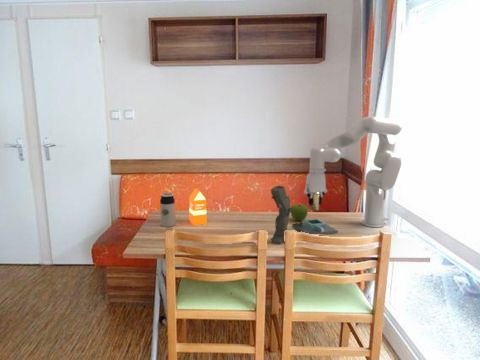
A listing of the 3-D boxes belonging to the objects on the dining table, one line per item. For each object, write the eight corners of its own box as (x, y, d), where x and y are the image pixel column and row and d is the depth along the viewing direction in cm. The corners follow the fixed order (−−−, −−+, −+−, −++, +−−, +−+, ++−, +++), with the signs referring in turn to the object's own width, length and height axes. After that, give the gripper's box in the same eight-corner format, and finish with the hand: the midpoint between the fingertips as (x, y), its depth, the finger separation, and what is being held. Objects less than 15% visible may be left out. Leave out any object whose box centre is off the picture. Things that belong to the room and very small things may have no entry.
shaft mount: (319, 223, 209) (320, 215, 209) (337, 233, 193) (338, 225, 192) (291, 226, 204) (292, 218, 203) (307, 236, 187) (307, 228, 186)
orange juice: (193, 225, 204) (193, 191, 200) (189, 221, 212) (188, 188, 208) (206, 224, 208) (206, 190, 204) (202, 219, 215) (201, 187, 212)
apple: (305, 217, 220) (306, 201, 218) (309, 222, 210) (310, 206, 208) (288, 217, 220) (288, 201, 218) (291, 223, 210) (291, 206, 208)
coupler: (315, 207, 199) (316, 190, 197) (320, 210, 194) (321, 192, 192) (308, 208, 198) (309, 190, 196) (313, 210, 193) (314, 192, 191)
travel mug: (167, 222, 211) (165, 192, 207) (178, 224, 207) (177, 193, 204) (158, 226, 204) (156, 195, 200) (169, 228, 200) (168, 196, 197)
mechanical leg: (284, 232, 191) (278, 180, 180) (296, 235, 186) (291, 182, 175) (270, 245, 181) (262, 191, 170) (282, 249, 177) (275, 194, 166)
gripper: (326, 169, 198) (324, 201, 202) (299, 170, 193) (297, 204, 196) (334, 171, 191) (332, 205, 195) (305, 173, 186) (304, 207, 189)
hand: (314, 204), depth 195 cm, fingers closed on coupler, 4 cm apart
